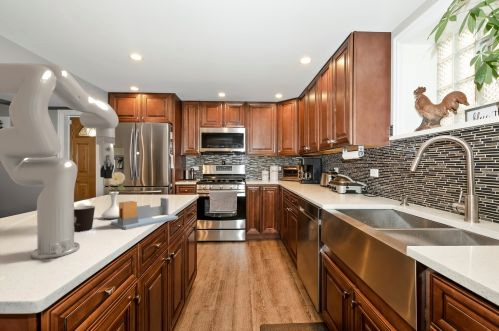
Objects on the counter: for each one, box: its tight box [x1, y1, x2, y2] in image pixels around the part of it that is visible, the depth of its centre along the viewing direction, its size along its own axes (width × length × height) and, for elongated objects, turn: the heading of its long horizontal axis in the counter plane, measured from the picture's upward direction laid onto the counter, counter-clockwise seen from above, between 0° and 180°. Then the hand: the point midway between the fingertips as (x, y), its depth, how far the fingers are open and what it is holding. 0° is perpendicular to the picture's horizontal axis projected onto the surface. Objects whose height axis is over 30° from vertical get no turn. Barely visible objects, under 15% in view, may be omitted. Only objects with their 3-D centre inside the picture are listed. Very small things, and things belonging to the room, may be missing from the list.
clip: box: [118, 200, 138, 219], centre depth 112 cm, size 5×6×7 cm
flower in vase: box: [101, 171, 126, 220], centre depth 128 cm, size 13×11×25 cm
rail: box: [110, 197, 179, 231], centre depth 121 cm, size 16×27×10 cm, turn 141°
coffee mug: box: [74, 205, 96, 233], centre depth 106 cm, size 12×9×10 cm
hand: (106, 177), depth 111 cm, fingers open, 9 cm apart
